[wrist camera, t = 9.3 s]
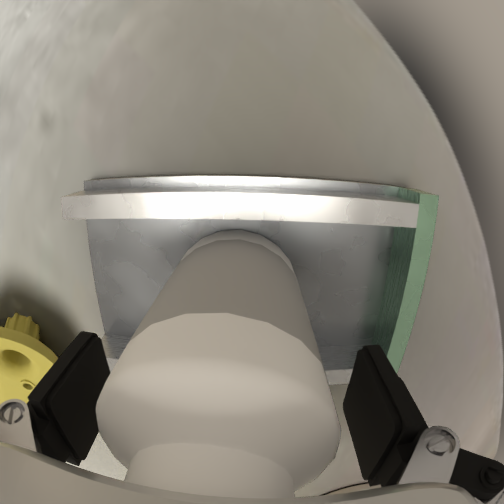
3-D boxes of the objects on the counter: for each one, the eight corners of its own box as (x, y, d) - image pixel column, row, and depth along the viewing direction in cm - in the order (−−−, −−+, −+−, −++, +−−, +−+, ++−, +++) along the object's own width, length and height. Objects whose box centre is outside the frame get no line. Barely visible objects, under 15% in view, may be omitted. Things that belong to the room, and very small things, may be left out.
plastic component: (72, 456, 23) (-6, 440, 18) (69, 405, 29) (-1, 390, 23) (72, 353, 16) (-55, 319, 11) (79, 284, 22) (-23, 258, 16)
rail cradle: (376, 354, 20) (392, 384, 17) (115, 346, 20) (97, 375, 17) (408, 187, 16) (439, 195, 13) (91, 179, 16) (60, 186, 13)
